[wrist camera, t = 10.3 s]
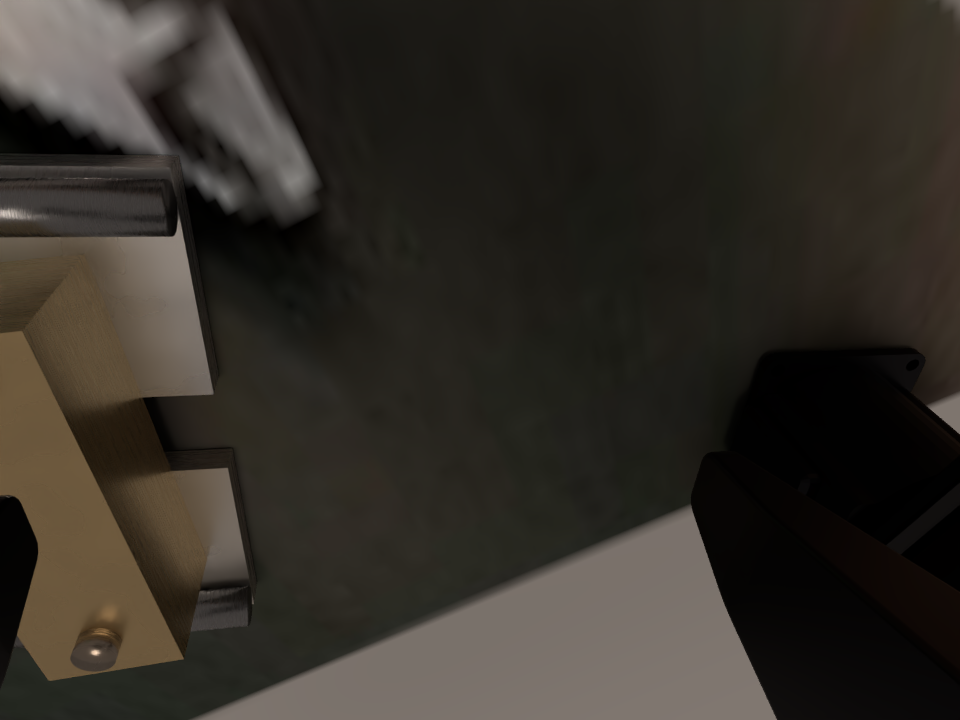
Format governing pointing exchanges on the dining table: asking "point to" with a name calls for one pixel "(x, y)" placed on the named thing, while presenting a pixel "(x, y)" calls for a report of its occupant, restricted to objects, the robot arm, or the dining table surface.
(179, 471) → the chain end
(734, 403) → the dining table surface
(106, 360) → the bar
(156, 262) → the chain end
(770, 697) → the robot arm
